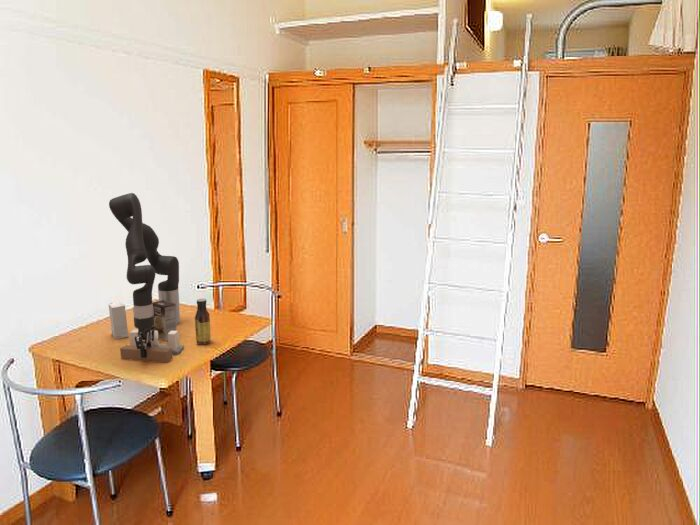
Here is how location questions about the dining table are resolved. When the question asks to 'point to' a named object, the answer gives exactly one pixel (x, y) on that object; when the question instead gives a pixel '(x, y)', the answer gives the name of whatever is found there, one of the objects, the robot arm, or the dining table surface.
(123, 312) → the skincare box
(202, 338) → the sauce bottle
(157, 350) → the frame bar
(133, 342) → the stand
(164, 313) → the coffee box
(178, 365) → the dining table surface
